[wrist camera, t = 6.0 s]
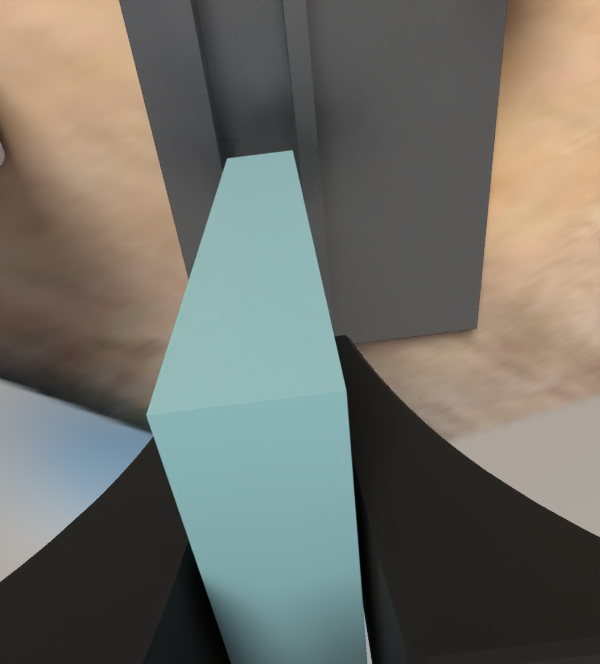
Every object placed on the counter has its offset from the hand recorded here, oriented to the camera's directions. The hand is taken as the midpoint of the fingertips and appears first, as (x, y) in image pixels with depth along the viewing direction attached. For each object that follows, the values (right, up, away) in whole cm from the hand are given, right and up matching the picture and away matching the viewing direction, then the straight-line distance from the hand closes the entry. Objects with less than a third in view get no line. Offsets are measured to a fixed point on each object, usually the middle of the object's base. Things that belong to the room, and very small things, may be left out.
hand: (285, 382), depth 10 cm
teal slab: (0, +2, +3) cm, 4 cm away
